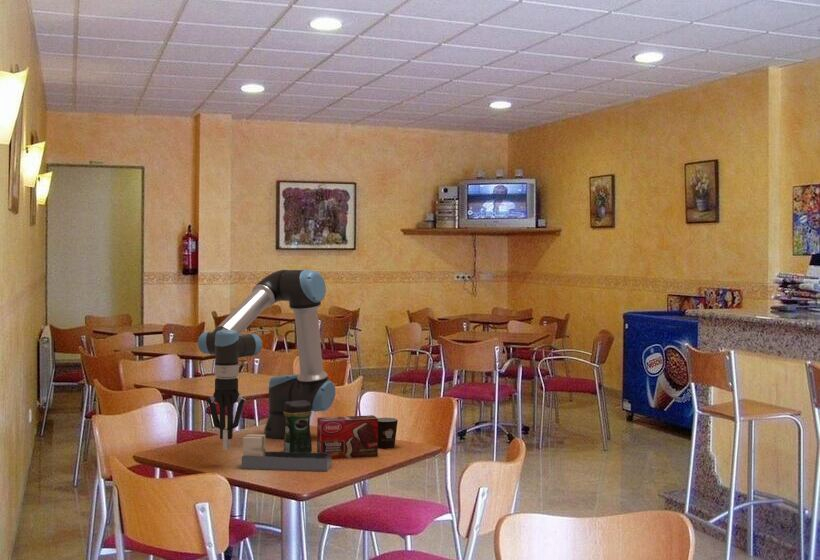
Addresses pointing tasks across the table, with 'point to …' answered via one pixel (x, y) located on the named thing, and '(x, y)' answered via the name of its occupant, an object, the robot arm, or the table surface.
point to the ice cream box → (348, 436)
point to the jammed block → (254, 445)
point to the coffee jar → (297, 426)
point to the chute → (289, 461)
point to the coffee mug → (387, 432)
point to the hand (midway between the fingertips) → (226, 448)
